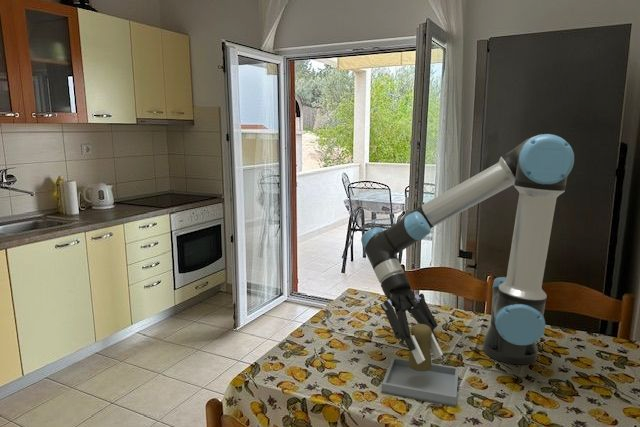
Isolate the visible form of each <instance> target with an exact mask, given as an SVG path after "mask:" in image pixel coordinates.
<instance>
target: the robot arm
mask: <svg viewBox="0 0 640 427" xmlns="http://www.w3.org/2000/svg"><path fill="white" fill-rule="evenodd" d="M574 164H575V152H574V151H573V148H572V146H571V145H570V143H569V142H568V141H566V140H565V139H564V138H563V137H561V136H559V135H555V134H551V133H544V134H543V133H540V134H537V135H533V136H530V137H528V138H526V139H525V140H524V141H522V142H521V143H520V144H518V145H517V146H516V147H514V148H513V149H512V150H510V151H508V152H507V153H505V154H503V155H502V156H500V158H499V160H498V162H497V163H495V164H493V165H491V166H489V167H488V168H486V169H484V170H482V171H481V172H479V173H477V174H475V175H474V176H472V177H470V178H468V179H466V180H464V181H463V182H461V183H459V184H457V185H455V186H454V187H452V188H450V189H448V190H447V191H444V192H442V193H440V194H439V195H437V196H436V197H434V198H432V199H431V200H428V201H427V202H425V203H423V204H422V205H420V206H418V207H416V208H415V209H413V210H409V211H407V212H406V213H405V214H403V216H402V218H400V220H399V221H397V222H395V223H394V224H393V225H391V226H390V227H388V228H386V229H385V230H384V229H383V228H381V227H378V226H377V227H373V228H371V229H368V230H367V231H365V232H364V233H363V234H362V236H361V239H360V241H361V245H362V247H363V250H364V254H366V257H367V259H368V261H369V263H370V265H371V267H372V269H373V272H374V273H375V276H376V278H377V280H378V283H379V284H380V287H381V289H382V292H383V294H384V296H385V297H386V300H384V301H383V302H382V303H381V304H380V308H381V309H382V311H383V312H384V313H385V316H386V317H387V320H388V323H389V324H390V327H391V328H390V329H392V332H393V334H394V337H395V338H396V340H398V339H400V340H401V341H402V342H405V345H406V347H407V349H408V351H409V352H410V351H412V353H413V355H414V358H415V360H416V362H417V364H420V363H421V362H423V361H424V360H425V358H424V356H423V354H422V352H421V349H420V347H419V345H418V343H417V341H416V339H415V336H414V335H413V336H412V334H411V330H410V326H409V323H408V322H409V321H408V317H407V313H406V312H408V313H409V314H410V315H411V316H412V318H414V320H415V321H416V322H417V324H425V325H428V326H429V327H430V328H431V330H432V335H431V338H430V339H429V342H430V352H431V353H432V355H433V358H434V359H435V360H437V359H439V358H440V357H442V356H443V355H444V353H443V352H442V349H441V347H440V345H439V339H438V337H437V335H436V333H435V332H434V330H435V329H436V328H438V323H437V321H436V320H435V317H434V315H433V313H432V312H431V310H430V308H429V306H428V304H427V302H426V299H425V295H424V293H423V292H422V293H420V294H416V293H415V292H414V291H413V290H412V289H411V284H410V282H409V279H408V277H407V276H406V274H405V270H404V268H403V267H402V264H401V263H400V262H399V259H398V257H397V254H399V253H400V252H402V251H403V250H405V249H407V248H409V247H411V246H412V245H414V244H416V243H417V242H419V241H422V240H423V239H424V238H426V237H427V236H428V235H430V233H431V229H432V228H434V227H436V226H437V225H440V224H441V223H444V222H445V221H447V220H449V219H451V218H453V217H455V216H457V215H458V214H460V213H462V212H465V211H466V210H468V209H470V208H472V207H473V206H476V205H478V204H479V203H481V202H484V201H485V200H487V199H489V198H491V197H493V196H494V195H496V194H498V193H500V192H502V191H504V190H506V189H508V188H510V187H511V186H514V188H515V189H516V190H517V191H518V194H519V195H518V201H517V205H516V206H517V207H516V211H515V212H516V213H515V218H514V219H515V220H514V221H515V222H514V226H513V233H512V239H511V246H510V247H511V248H510V253H509V259H508V265H507V271H506V276H499V277H496V278H495V279H494V280H493V283H492V284H493V285H492V286H491V287H492V295H491V297H492V298H491V311H490V313H491V314H490V325H489V328H488V330H487V333H486V335H485V337H484V339H483V342H482V344H483V345H482V350H483V352H484V353H485V354H486V355H487V356H488V357H490V358H492V359H494V360H496V361H499V362H503V363H504V364H505V363H506V364H510V365H529V364H532V363H535V362H536V361H537V360H538V353H539V352H538V351H539V350H538V346H537V343H536V342H538V341H539V340H540V339H541V338H542V337H543V336H544V334H545V332H546V331H545V330H546V320H545V319H546V318H545V317H544V314H545V308H546V302H547V296H548V295H547V293H546V292H545V291H544V290H543V288H542V286H543V280H544V274H545V269H546V263H547V262H546V261H547V258H548V257H547V256H548V251H549V246H550V238H551V233H552V226H553V221H554V215H555V210H556V204H557V198H558V197H559V196H560V195H562V194H563V193H565V191H566V188H567V187H566V185H567V180H568V176H569V174H570V173H571V171H572V169H573V167H574Z"/></svg>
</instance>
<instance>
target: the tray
mask: <svg viewBox="0 0 640 427" xmlns="http://www.w3.org/2000/svg"><path fill="white" fill-rule="evenodd" d="M408 362H409V358H408V359H407V358H401V357H395V356H392V357H391V359H390V362H389V366H388V367H387V370H386V372H385V374H384V377H383V380H382V382H381V394H385V395H391V396H394V397H395V396H396V397H401V398H405V399H406V398H407V399H412V400H417V401H423V402H428V403H433V404H439V405H443V406H447V407H448V406H449V407H453V408H456V407H457V397H458V384H459V370H460V368H459V367H457V366H456V367H455V366H452V365H451V366H450V365H443V364H438V363H434V362H433V363H432V362H431V364H432V368H431V369H430V370H429V371H424V372H422V371H416V370H413V369H411V368H410V367H409V366H408Z"/></svg>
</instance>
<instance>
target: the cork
mask: <svg viewBox="0 0 640 427" xmlns="http://www.w3.org/2000/svg"><path fill="white" fill-rule="evenodd" d="M410 334H411V336H413V335H414V336H415V339H416V341H417V343H418V345H419V347H420V349H421V352H422V354H423V356H424V358H425V360H424V361H423V362H421V363H420V364H417V362H416V360H415V358H414V355H413V353H412V351H409V358H408V360H409V362H408V366H409V367H410V368H411V369H413V370H416V371H422V372H424V371H429V370H430V369H431V368H432V364H431V363H432V354H431V353H432V352H431V349H430V342H429V339H430V338H431V335H432V330H431V328H430V327H429V326H428V325H425V324H419V323H416V324H414V325H412V327H411V330H410Z"/></svg>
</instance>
